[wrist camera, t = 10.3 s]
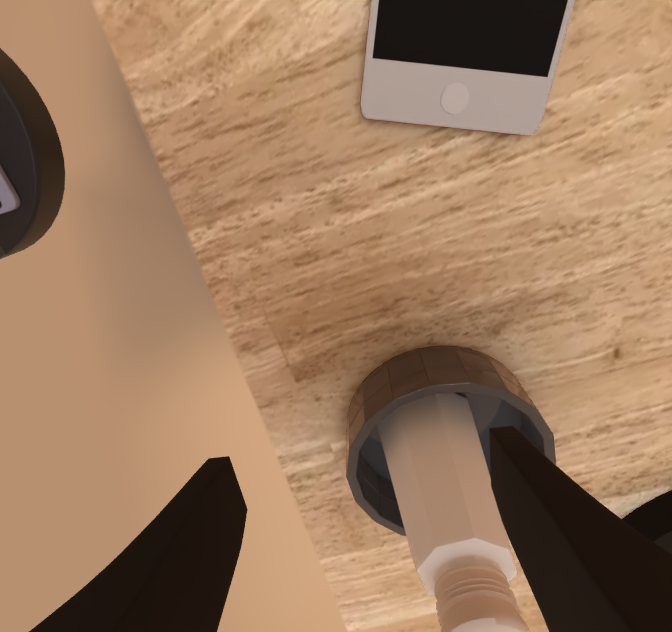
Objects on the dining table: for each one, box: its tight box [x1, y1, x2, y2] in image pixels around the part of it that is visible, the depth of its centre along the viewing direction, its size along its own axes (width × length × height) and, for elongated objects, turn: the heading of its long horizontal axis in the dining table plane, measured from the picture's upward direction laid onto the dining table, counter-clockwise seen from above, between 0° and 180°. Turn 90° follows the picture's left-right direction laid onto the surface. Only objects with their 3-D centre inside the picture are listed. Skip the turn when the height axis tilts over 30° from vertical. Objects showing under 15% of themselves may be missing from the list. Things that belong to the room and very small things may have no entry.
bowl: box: [346, 346, 556, 536], centre depth 22 cm, size 10×10×4 cm
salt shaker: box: [377, 393, 530, 632], centre depth 18 cm, size 5×5×11 cm
